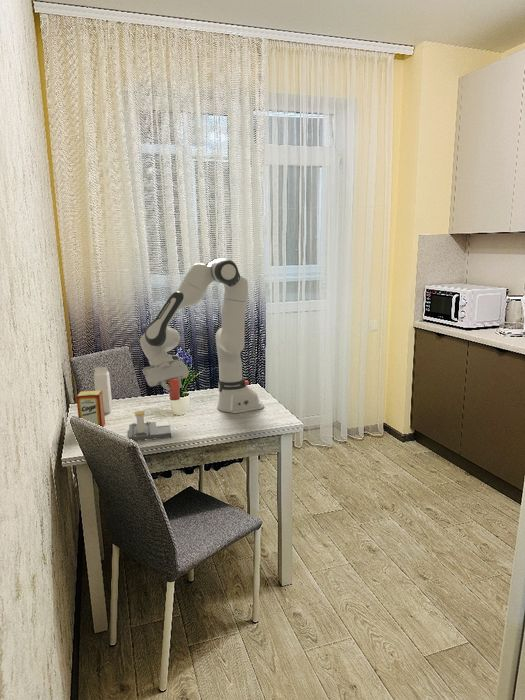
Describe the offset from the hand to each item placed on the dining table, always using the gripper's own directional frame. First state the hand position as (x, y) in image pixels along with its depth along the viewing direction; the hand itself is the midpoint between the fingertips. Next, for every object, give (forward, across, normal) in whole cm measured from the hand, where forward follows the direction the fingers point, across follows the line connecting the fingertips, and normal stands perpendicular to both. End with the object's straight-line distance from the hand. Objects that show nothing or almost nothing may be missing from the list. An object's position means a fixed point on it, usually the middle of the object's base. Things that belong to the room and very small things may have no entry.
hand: (175, 388), depth 218 cm
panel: (+12, -15, +11) cm, 22 cm away
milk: (-16, -15, +39) cm, 45 cm away
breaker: (+12, -20, +8) cm, 25 cm away
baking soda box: (-6, -28, +28) cm, 41 cm away
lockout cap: (+3, 0, +4) cm, 5 cm away
